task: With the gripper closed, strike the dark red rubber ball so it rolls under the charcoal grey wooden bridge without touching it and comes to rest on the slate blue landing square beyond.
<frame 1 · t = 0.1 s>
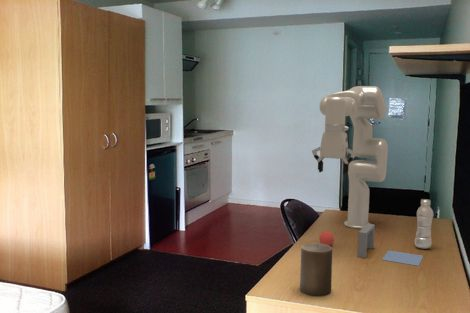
hand: (332, 172, 185), 31 cm above the table, tool pointing down, fingers open, 9 cm apart
ball: (326, 238, 194), on the table
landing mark: (402, 258, 180), on the table
pillar candle: (315, 290, 148), on the table
plastic bottle: (422, 248, 194), on the table
bridge: (365, 252, 187), on the table
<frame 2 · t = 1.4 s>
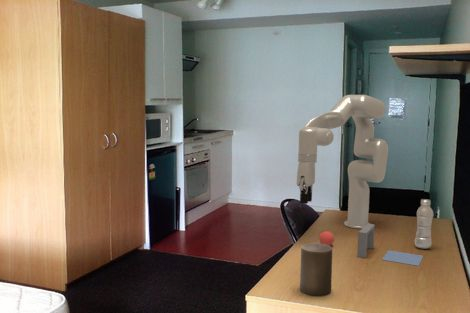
hand: (305, 201, 197), 17 cm above the table, tool pointing down, fingers open, 4 cm apart
nothing on the table moved.
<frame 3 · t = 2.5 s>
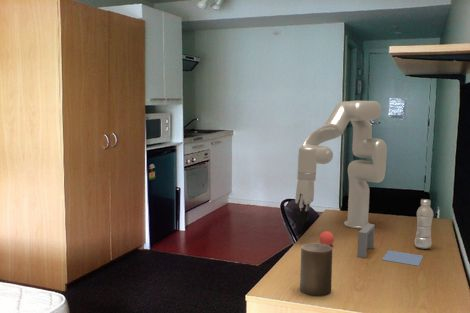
hand: (304, 219, 197), 10 cm above the table, tool pointing down, fingers closed
nothing on the table moved.
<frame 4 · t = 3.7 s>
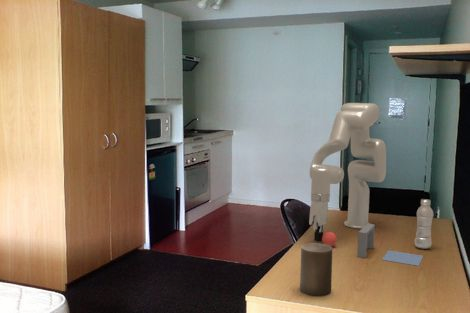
hand: (318, 240, 195), 2 cm above the table, tool pointing down, fingers closed
ball: (329, 239, 193), on the table
everything else where it was.
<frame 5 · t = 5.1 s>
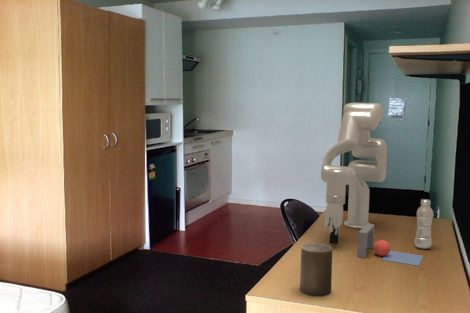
hand: (333, 243, 192), 2 cm above the table, tool pointing down, fingers closed
ball: (382, 248, 182), on the table
everything else where it was.
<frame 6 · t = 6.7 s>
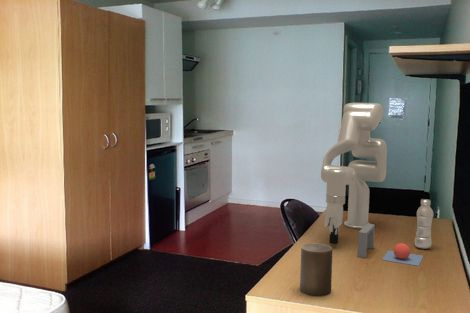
hand: (333, 243, 192), 2 cm above the table, tool pointing down, fingers closed
ball: (401, 251, 179), on the table
everything else where it was.
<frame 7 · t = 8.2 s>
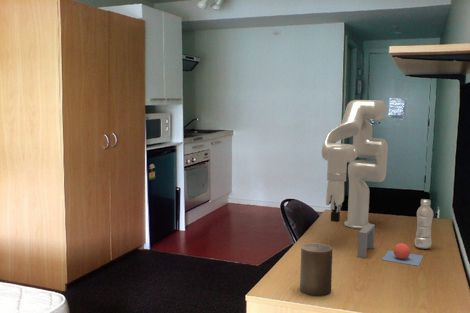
hand: (335, 221, 192), 11 cm above the table, tool pointing down, fingers closed
nothing on the table moved.
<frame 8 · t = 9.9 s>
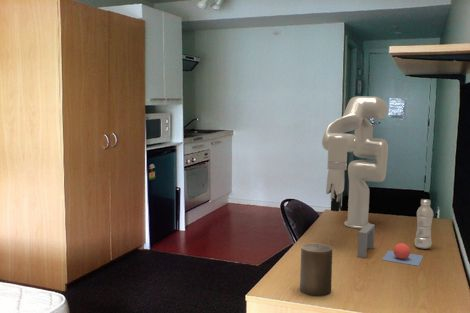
hand: (335, 210, 191), 15 cm above the table, tool pointing down, fingers closed
nothing on the table moved.
at the end: ball 1.4 cm from the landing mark (horizontally); ball never touched bridge; ball at rest at the end (0.0 cm/s) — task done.
